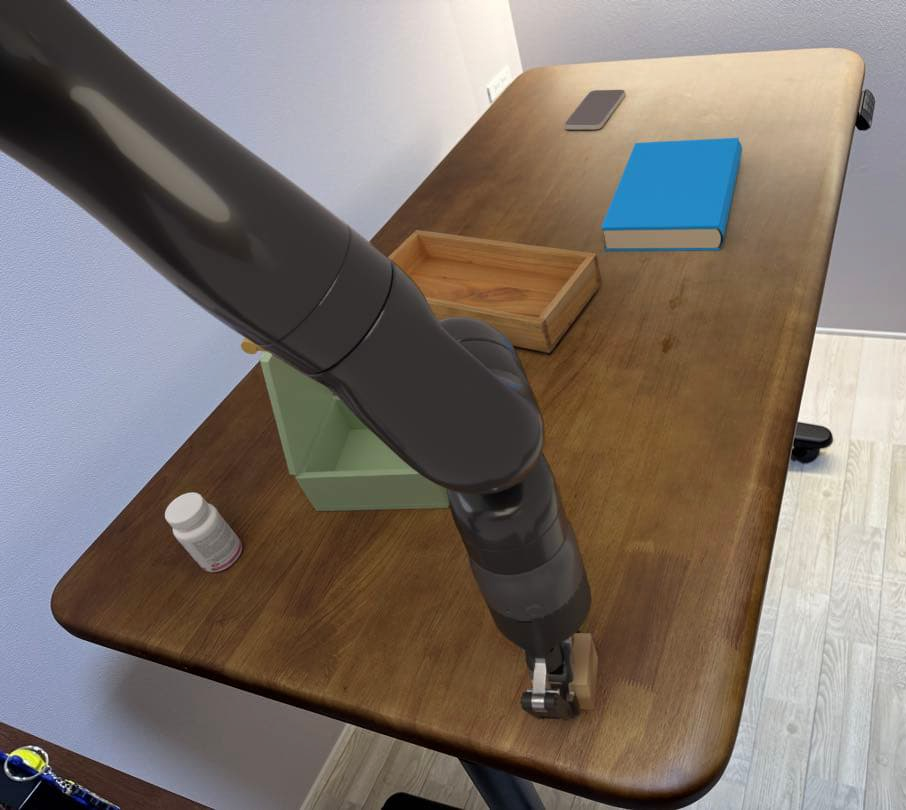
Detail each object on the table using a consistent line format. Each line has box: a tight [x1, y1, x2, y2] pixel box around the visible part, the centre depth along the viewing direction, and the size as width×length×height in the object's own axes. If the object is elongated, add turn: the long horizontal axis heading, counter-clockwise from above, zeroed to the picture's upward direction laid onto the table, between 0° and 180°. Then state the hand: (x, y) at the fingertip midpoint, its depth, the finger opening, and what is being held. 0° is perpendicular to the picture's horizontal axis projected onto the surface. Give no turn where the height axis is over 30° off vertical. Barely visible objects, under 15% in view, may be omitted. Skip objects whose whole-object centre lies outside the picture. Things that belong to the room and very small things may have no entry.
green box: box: [295, 395, 450, 512], centre depth 88 cm, size 16×13×6 cm
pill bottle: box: [164, 491, 243, 573], centre depth 82 cm, size 5×5×8 cm
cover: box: [240, 337, 334, 476], centre depth 81 cm, size 16×13×5 cm
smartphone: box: [564, 89, 626, 130], centre depth 146 cm, size 7×1×15 cm
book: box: [600, 137, 743, 252], centre depth 117 cm, size 17×4×25 cm
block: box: [531, 632, 599, 711], centre depth 65 cm, size 4×4×4 cm
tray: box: [387, 229, 602, 354], centre depth 107 cm, size 31×15×6 cm, turn 60°
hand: (570, 681), depth 66 cm, fingers closed on block, 4 cm apart
